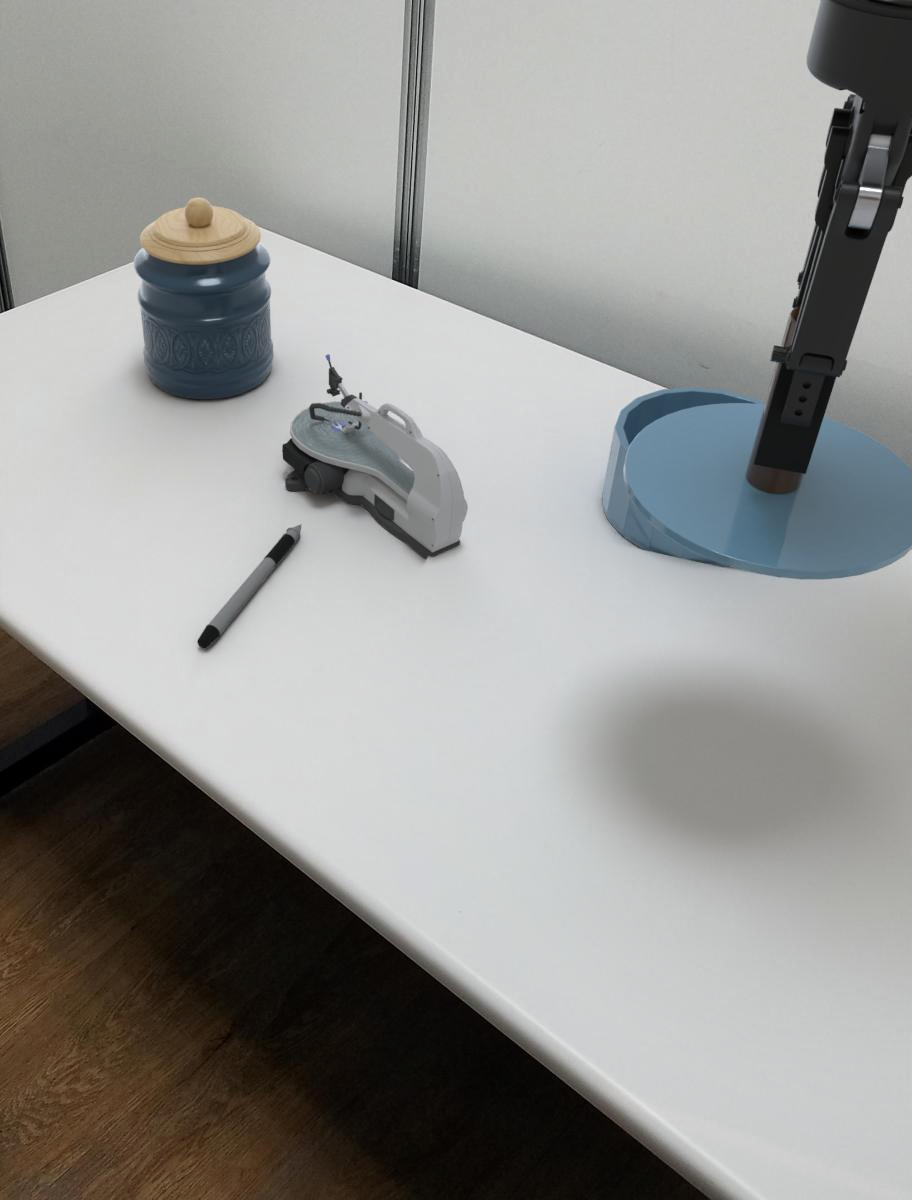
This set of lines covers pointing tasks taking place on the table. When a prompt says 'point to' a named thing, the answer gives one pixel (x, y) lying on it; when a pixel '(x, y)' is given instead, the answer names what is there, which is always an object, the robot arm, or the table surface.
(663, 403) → the bowl
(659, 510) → the bowl lid
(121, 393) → the table surface
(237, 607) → the pen
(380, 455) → the scroll saw
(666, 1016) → the table surface
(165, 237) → the canister
